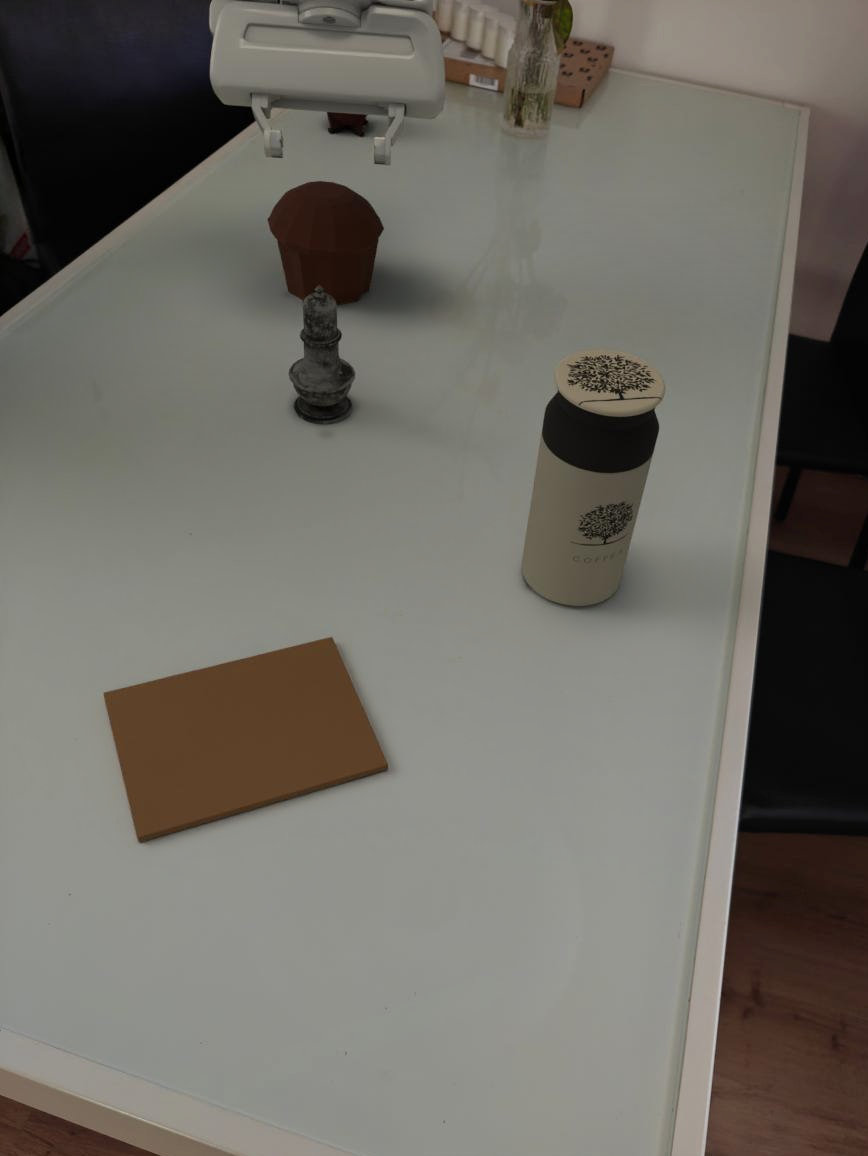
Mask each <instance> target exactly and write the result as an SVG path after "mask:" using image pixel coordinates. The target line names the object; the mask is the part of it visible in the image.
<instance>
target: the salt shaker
mask: <svg viewBox="0 0 868 1156" xmlns="http://www.w3.org/2000/svg"><path fill="white" fill-rule="evenodd" d="M315 291H317V292H316V293H312V294H310V295H308V296H307V297H306V298H305V300H304V301H302V318H303V319H302V321H303V328H302V329H301V330H300V331H299V339H300V340H301V342H303V357H302V358H300V359H297V360H296V361H295V362H294V363H292V364H291V366H290V367H289V369H288V378H289V380H290V381H291V383H292V385H293V388H294V391H295V392H296V394H297V395H298V397H296V399H295V400H294V402H293V409H294V412H295V413H296V415H297V416H298V417H299V418H300V419H302V420H304V421H307V422H308V423H312V424H318V425H328V424H329V425H331V424H335V423H338V422H341V421H343V420H345V419H346V418H348V417H349V416H350V415H351V413H352V410H353V403H352V400H351V399H350V398H349V397H348V394H349V393H350V390H351V388H352V384H353V383H354V381H355V379H356V371H355V368H354V367H353V365H352V364H351V363H350V362H348V361H347V360H345V359H343V358H341V357H340V353H339V352H340V350H339V349H340V348H339V347H340V346H339V345H340V344H339V342H340V341H341V340H342V337H343V333H342V331H341V330H340V328H338V305H337V304H336V301H335V299H334V298H333V297H332V296H331V295H329V294H327V293H323V292H322V291H323V288H322V287H321V286H320V285H318V286H317V288H316V289H315Z"/></svg>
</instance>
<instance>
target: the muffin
mask: <svg viewBox="0 0 868 1156" xmlns="http://www.w3.org/2000/svg"><path fill="white" fill-rule="evenodd" d="M266 221H267V223H268V227H269V230H270V232H271V234H272V235H273V237H274V239H275V240H276V241H277V247H278V251H279V255H280V261H281V264H282V269H283V273H284V278H285V282H286V286H287V287H286V288H287V292H288V293H289V294H291V295H293V296H295V297H297V298H298V299H300V300H302V302H304V300H305V298H306V297H307V296H308V295H310V294H312V293H316V292H317V291H315V289H316V288H317V286H318V285H320V286H321V287H322V288H323V291H322V292H323V293H327V294H329V295H331V296H332V297H333V298H334V299H335V301H336V304H337V306H339V305H344V304H350V303H357V302H358V301H359V300H360V299H361V298H362V297H363V296H364V295H366V294H367V293H369V292H370V291H371V286H372V279H373V275H374V267H375V263H376V258H377V257H376V256H377V252H378V245H379V239H380V237H381V235H382V234H383V232H384V231H385V227H384V225H383V222H382V220H381V217H380V216H379V215H378V214H377V212H376V210H375V208H374V207H373V205H372V204H371V203H370V202H369V201H368V199H366V198H365V197H364V196H362V195H361V194H359V193H358V192H356V191H355V190H353V189H351V188H350V187H348V186H346V185H344V184H340V183H337V182H333V181H326V180H325V181H323V180H317V181H308V182H305V183H303V184H300V185H297V186H295V187H293V188H290V189H289V190H287V191H286V192H284V193H283V195H282V196H281V197H280V198H279V200H278V201H277V202H276V204H275V205H274V207H273V208H272V210H271V211H270V214H269V216H268V217H267V220H266Z"/></svg>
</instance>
